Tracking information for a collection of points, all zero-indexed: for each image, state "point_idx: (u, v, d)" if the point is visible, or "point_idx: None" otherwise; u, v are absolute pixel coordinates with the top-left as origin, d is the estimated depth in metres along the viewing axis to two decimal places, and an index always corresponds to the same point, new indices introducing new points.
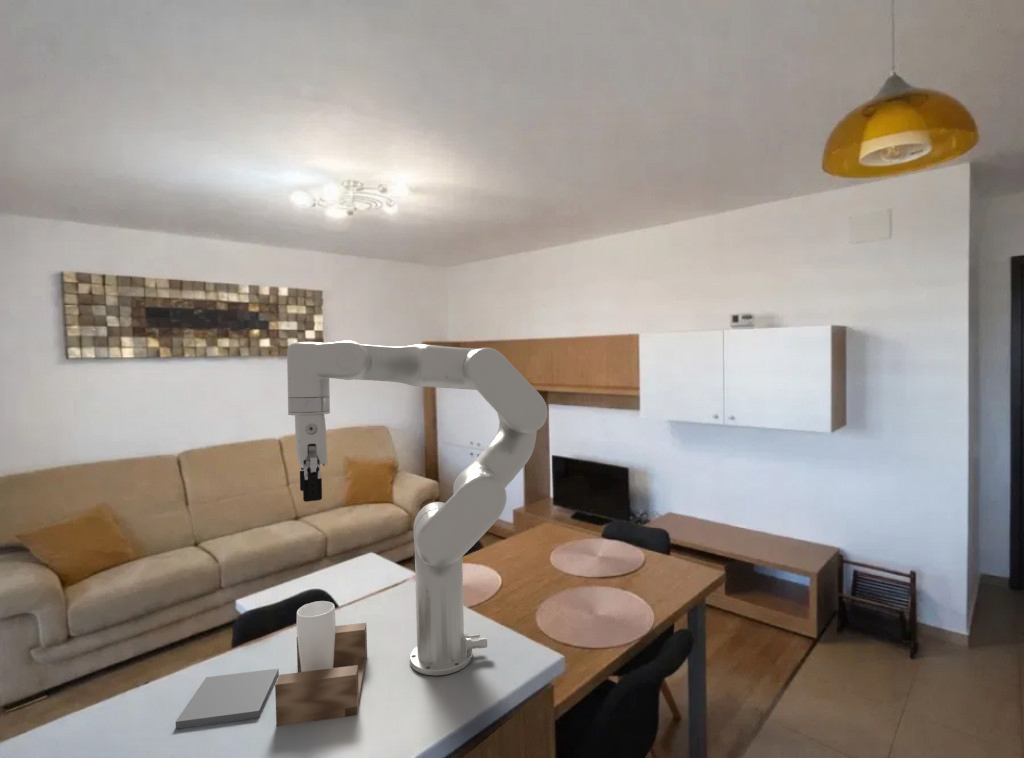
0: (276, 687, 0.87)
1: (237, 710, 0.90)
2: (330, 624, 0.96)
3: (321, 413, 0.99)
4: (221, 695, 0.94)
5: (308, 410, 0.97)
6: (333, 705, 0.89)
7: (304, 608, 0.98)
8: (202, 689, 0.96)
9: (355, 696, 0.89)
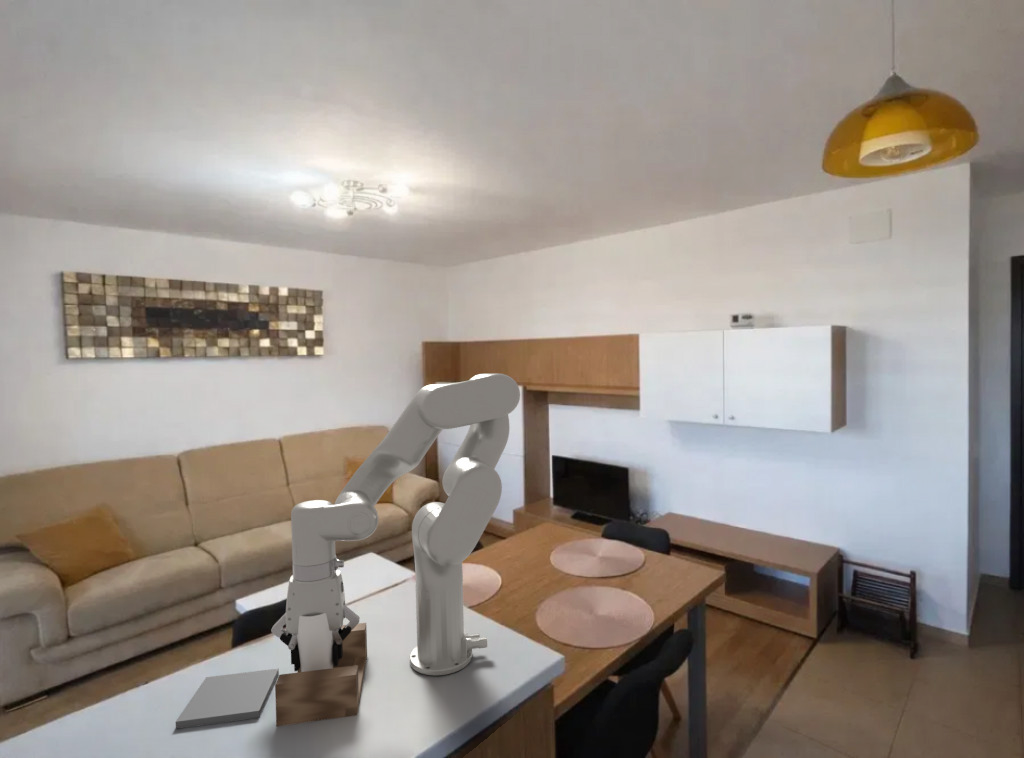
0: (276, 687, 0.87)
1: (237, 710, 0.90)
2: None
3: None
4: (221, 695, 0.94)
5: (335, 570, 0.97)
6: (333, 705, 0.89)
7: None
8: (202, 689, 0.96)
9: (355, 696, 0.89)
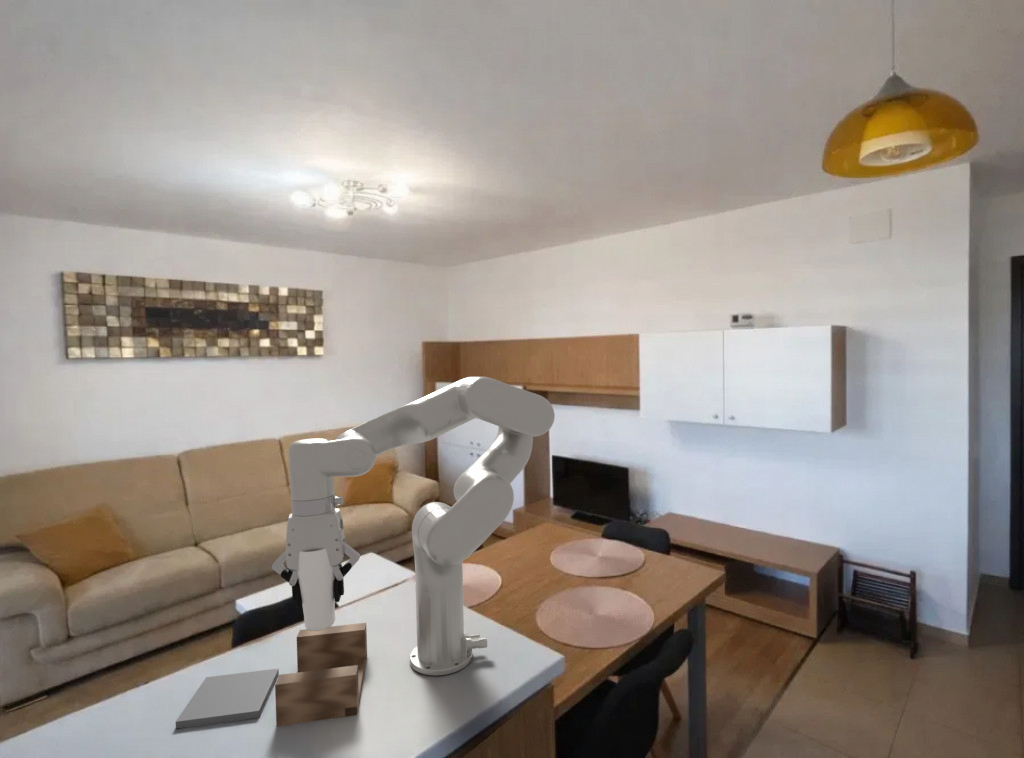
0: (276, 687, 0.87)
1: (237, 710, 0.90)
2: None
3: None
4: (221, 695, 0.94)
5: None
6: (333, 705, 0.89)
7: None
8: (202, 689, 0.96)
9: (355, 696, 0.89)
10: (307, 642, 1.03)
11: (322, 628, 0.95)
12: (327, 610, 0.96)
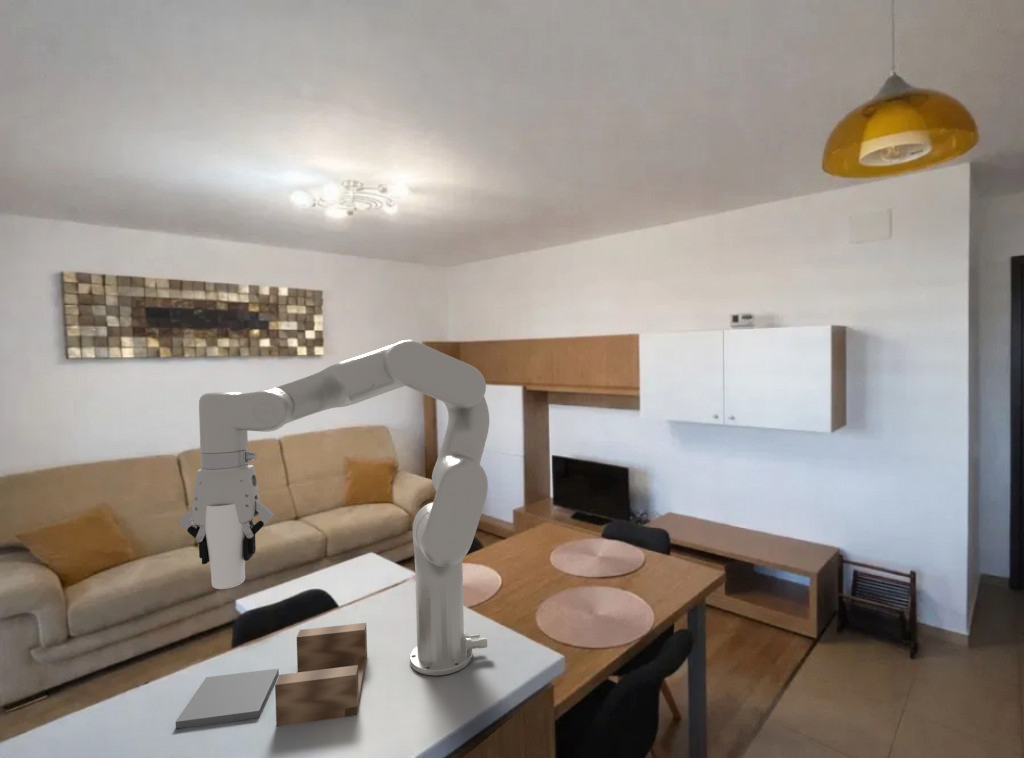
0: (276, 687, 0.87)
1: (237, 710, 0.90)
2: None
3: None
4: (221, 695, 0.94)
5: (247, 462, 0.94)
6: (333, 705, 0.89)
7: None
8: (202, 689, 0.96)
9: (355, 696, 0.89)
10: (307, 642, 1.03)
11: (228, 586, 0.92)
12: (235, 568, 0.93)
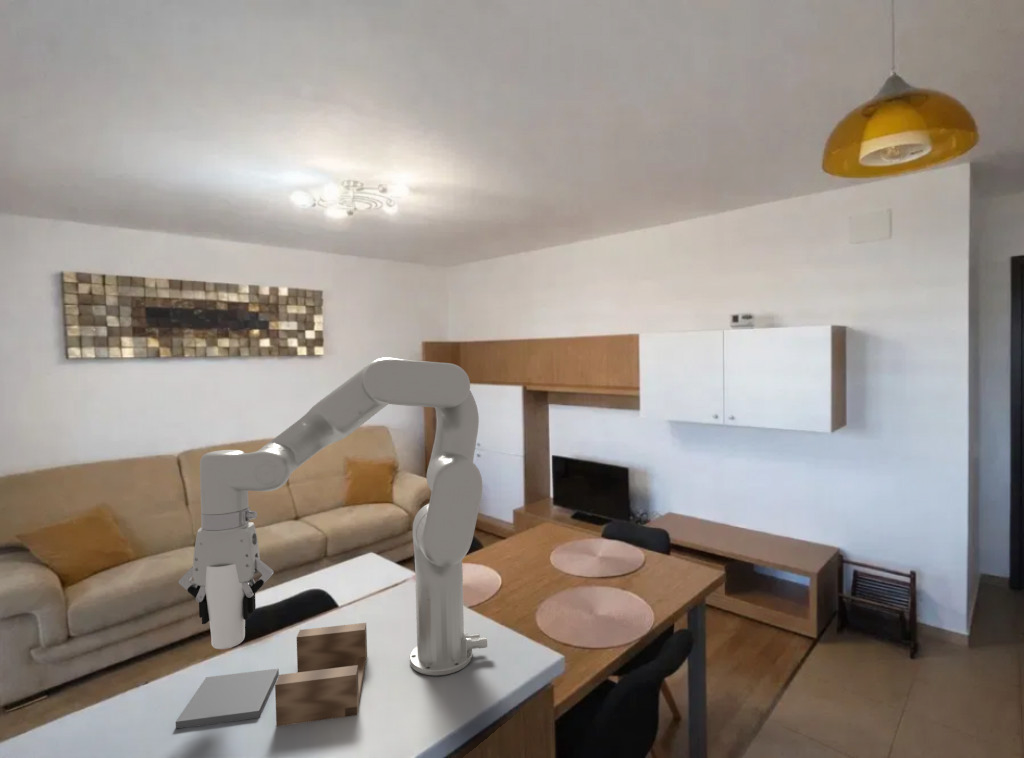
0: (276, 687, 0.87)
1: (237, 710, 0.90)
2: None
3: None
4: (221, 695, 0.94)
5: (247, 521, 0.95)
6: (333, 705, 0.89)
7: None
8: (202, 689, 0.96)
9: (355, 696, 0.89)
10: (307, 642, 1.03)
11: (228, 646, 0.92)
12: (234, 628, 0.93)
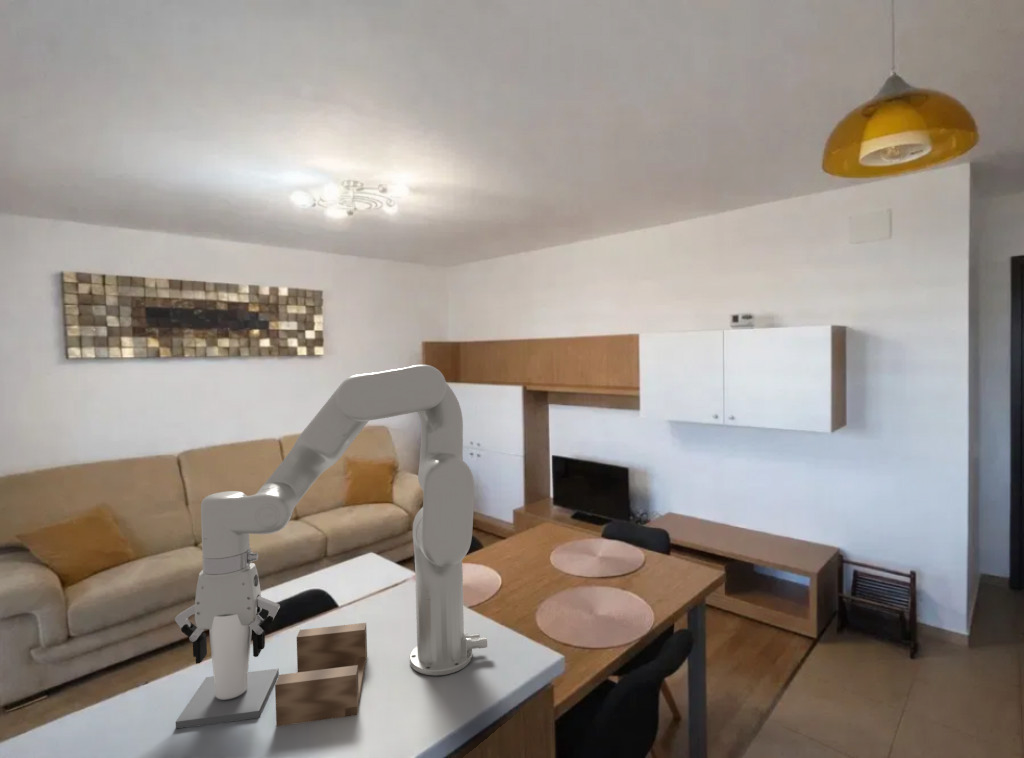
0: (276, 687, 0.87)
1: (237, 710, 0.90)
2: (244, 625, 0.94)
3: None
4: None
5: (249, 563, 0.95)
6: (333, 705, 0.89)
7: None
8: (202, 689, 0.96)
9: (355, 696, 0.89)
10: (307, 642, 1.03)
11: (232, 697, 0.92)
12: (238, 677, 0.93)
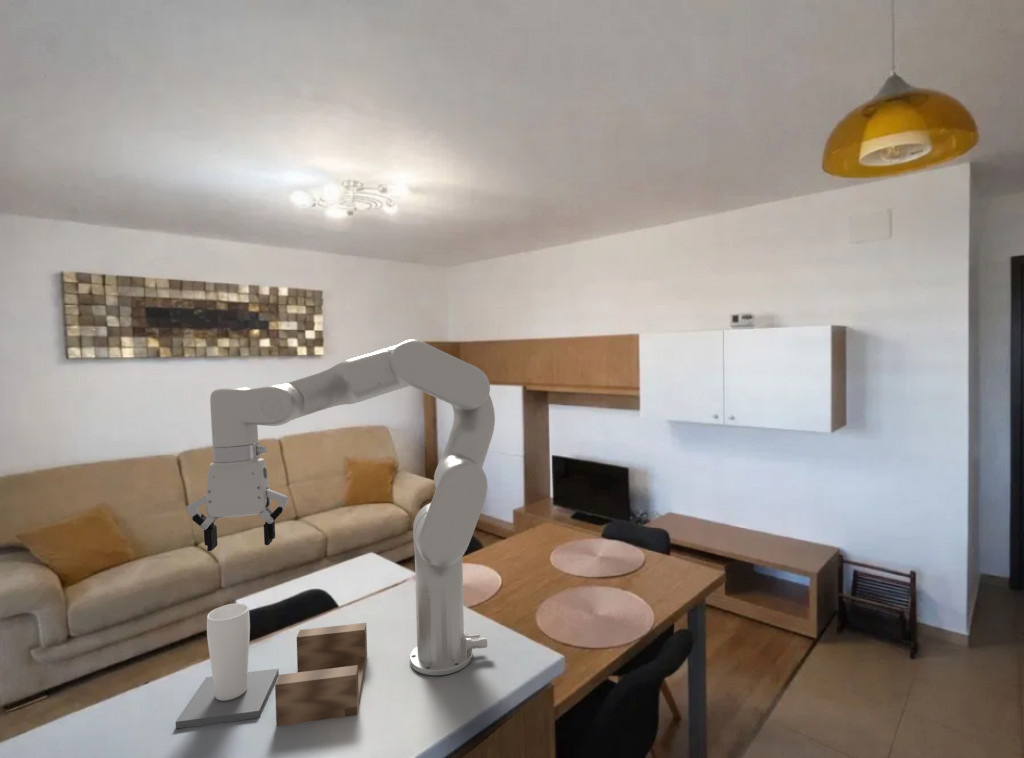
0: (276, 687, 0.87)
1: (237, 710, 0.90)
2: (242, 627, 0.93)
3: None
4: None
5: (258, 455, 0.97)
6: (333, 705, 0.89)
7: (216, 611, 0.95)
8: (202, 689, 0.96)
9: (355, 696, 0.89)
10: (307, 642, 1.03)
11: (232, 698, 0.92)
12: (238, 679, 0.93)
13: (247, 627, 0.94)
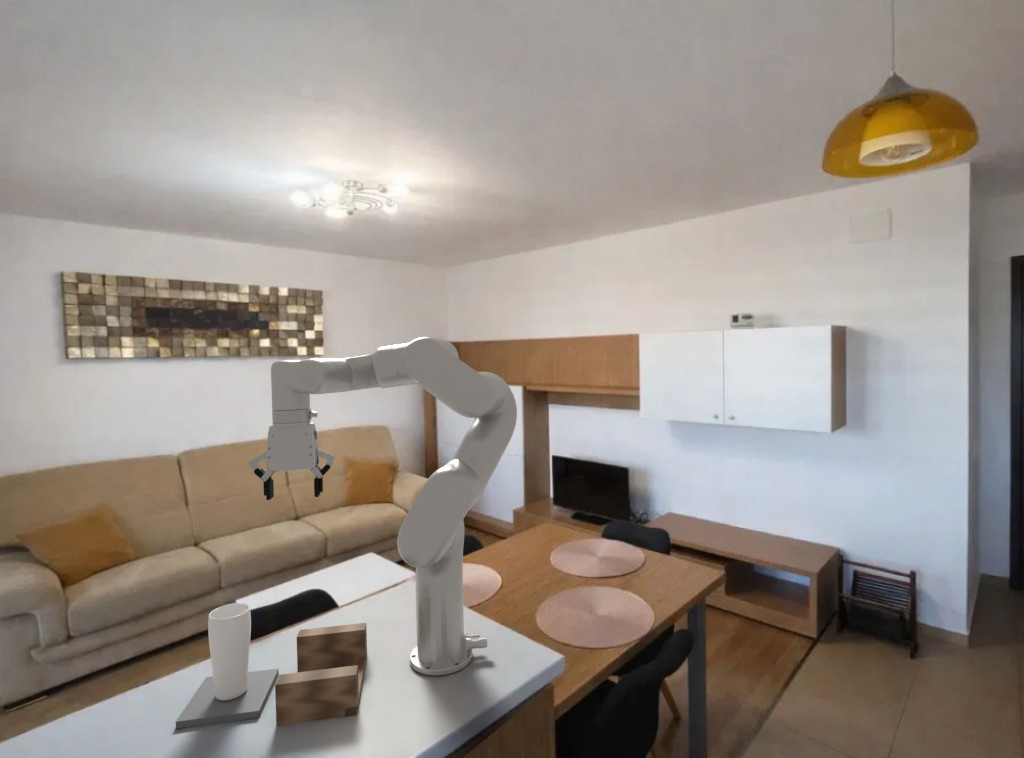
0: (276, 687, 0.87)
1: (237, 710, 0.90)
2: (244, 626, 0.93)
3: None
4: None
5: (310, 419, 1.12)
6: (333, 705, 0.89)
7: (217, 610, 0.96)
8: (202, 689, 0.96)
9: (355, 696, 0.89)
10: (307, 642, 1.03)
11: (232, 697, 0.92)
12: (238, 678, 0.93)
13: (248, 626, 0.94)
